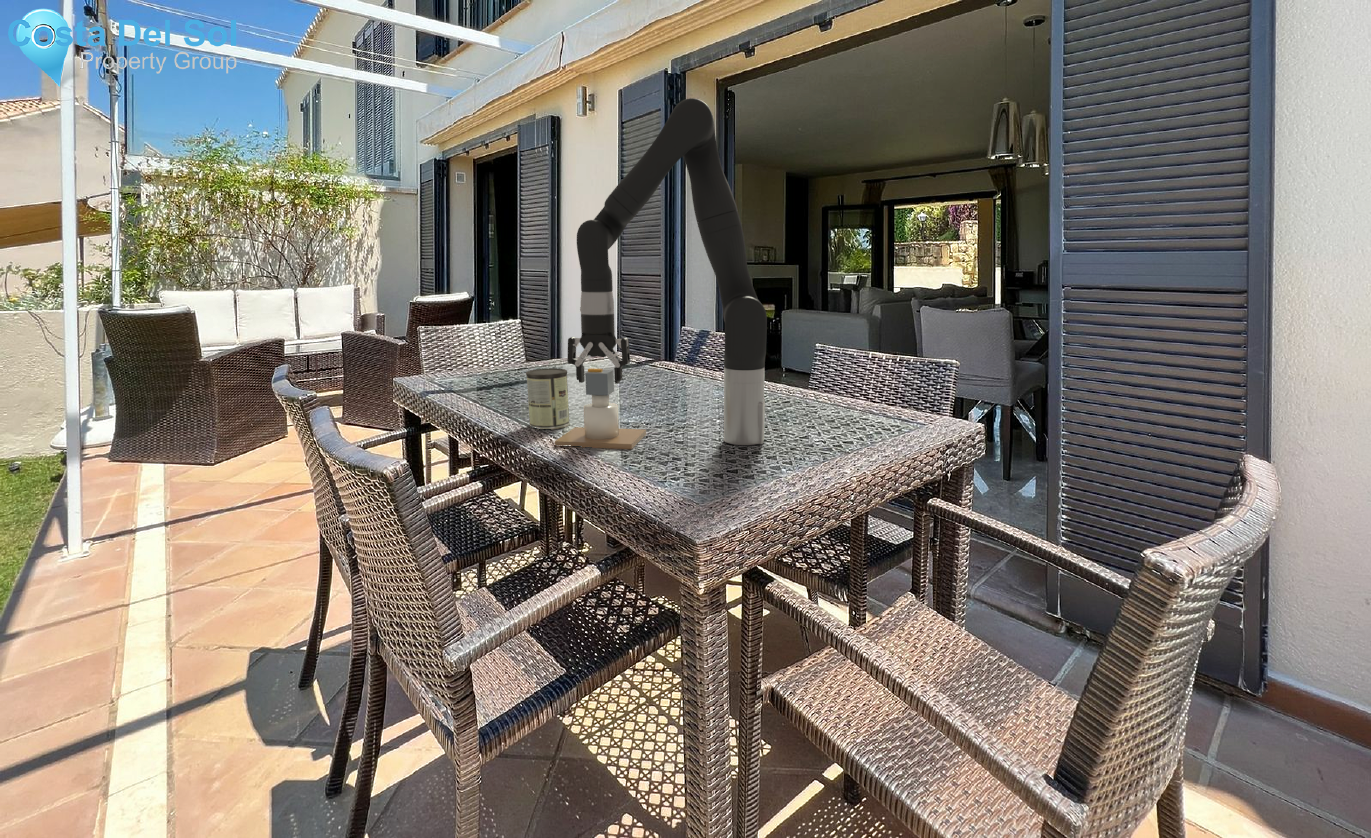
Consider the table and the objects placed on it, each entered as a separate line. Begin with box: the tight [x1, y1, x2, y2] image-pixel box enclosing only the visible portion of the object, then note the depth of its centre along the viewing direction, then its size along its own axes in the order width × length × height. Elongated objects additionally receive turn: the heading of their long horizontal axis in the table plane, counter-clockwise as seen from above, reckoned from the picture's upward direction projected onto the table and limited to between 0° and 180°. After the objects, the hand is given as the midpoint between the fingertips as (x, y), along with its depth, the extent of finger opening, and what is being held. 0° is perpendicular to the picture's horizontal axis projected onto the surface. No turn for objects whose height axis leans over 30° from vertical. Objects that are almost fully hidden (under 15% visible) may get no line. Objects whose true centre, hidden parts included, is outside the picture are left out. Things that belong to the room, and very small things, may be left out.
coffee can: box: [525, 367, 570, 430], centre depth 181 cm, size 10×10×14 cm
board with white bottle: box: [554, 394, 647, 450], centre depth 165 cm, size 18×14×11 cm
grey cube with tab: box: [584, 368, 615, 396], centre depth 163 cm, size 5×5×6 cm
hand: (599, 382), depth 164 cm, fingers open, 8 cm apart
